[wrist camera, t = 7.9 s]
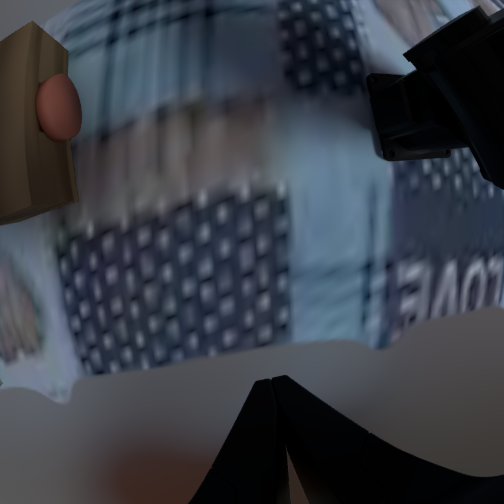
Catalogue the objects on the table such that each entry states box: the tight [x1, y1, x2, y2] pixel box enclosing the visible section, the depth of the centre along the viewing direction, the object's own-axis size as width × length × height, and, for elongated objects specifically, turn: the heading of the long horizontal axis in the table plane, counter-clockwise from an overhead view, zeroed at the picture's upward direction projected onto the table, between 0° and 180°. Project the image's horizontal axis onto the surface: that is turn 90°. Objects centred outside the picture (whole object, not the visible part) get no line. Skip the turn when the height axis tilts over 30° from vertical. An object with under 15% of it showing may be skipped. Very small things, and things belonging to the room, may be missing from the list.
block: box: [0, 21, 79, 225], centre depth 13 cm, size 6×12×6 cm, turn 10°
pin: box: [36, 74, 82, 142], centre depth 13 cm, size 10×4×4 cm, turn 100°
